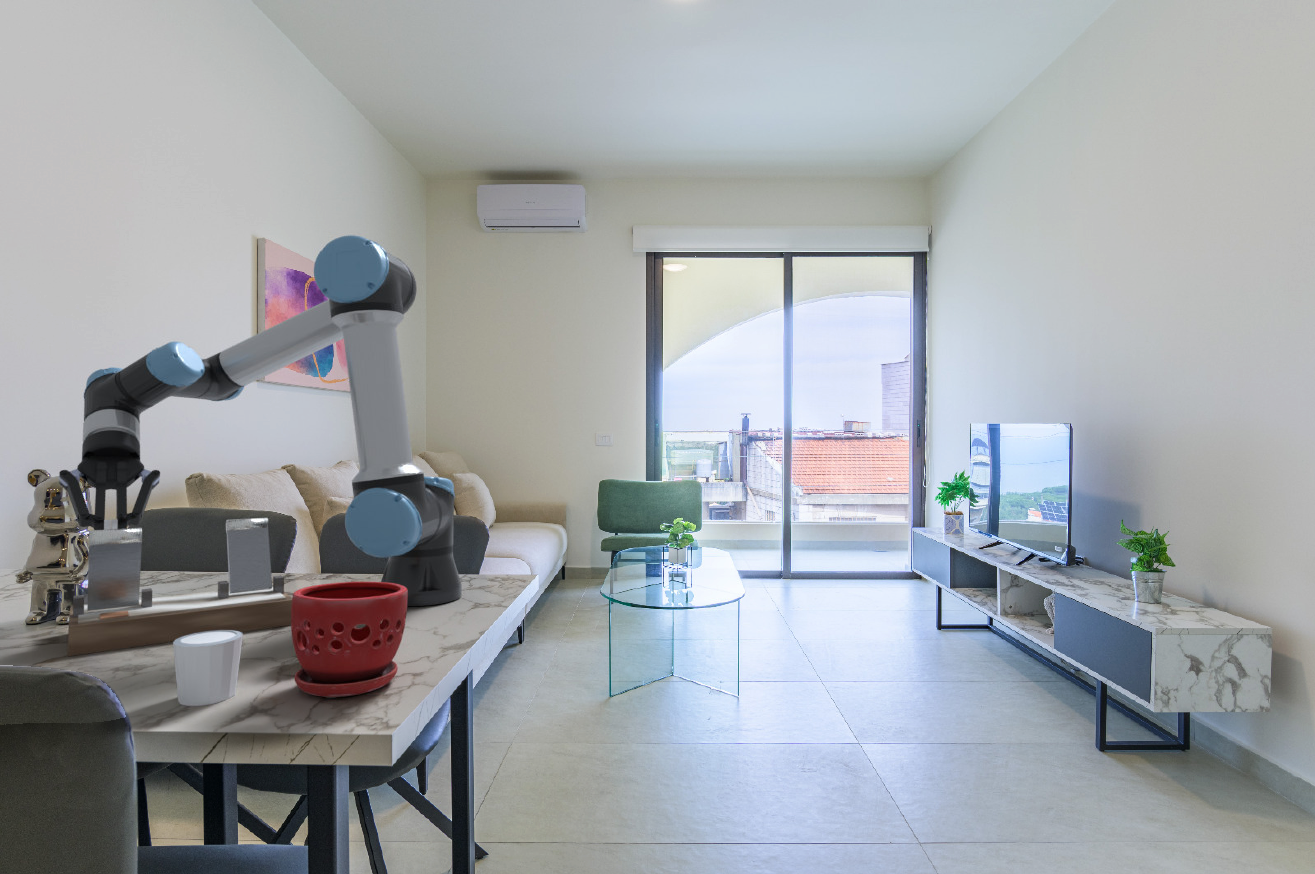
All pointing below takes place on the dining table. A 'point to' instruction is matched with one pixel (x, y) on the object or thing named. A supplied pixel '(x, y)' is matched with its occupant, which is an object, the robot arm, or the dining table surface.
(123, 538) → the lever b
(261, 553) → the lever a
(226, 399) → the robot arm
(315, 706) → the dining table surface
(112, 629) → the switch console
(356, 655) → the plant pot
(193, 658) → the white cup
